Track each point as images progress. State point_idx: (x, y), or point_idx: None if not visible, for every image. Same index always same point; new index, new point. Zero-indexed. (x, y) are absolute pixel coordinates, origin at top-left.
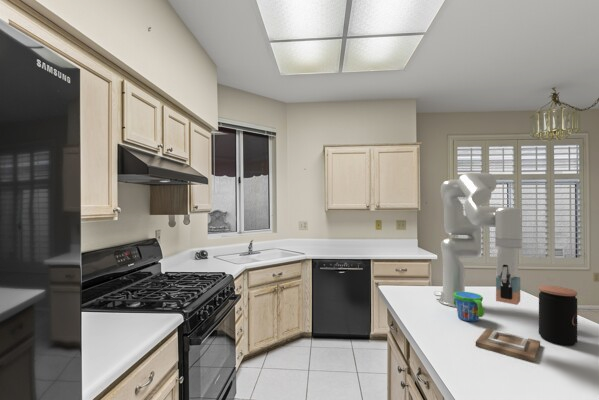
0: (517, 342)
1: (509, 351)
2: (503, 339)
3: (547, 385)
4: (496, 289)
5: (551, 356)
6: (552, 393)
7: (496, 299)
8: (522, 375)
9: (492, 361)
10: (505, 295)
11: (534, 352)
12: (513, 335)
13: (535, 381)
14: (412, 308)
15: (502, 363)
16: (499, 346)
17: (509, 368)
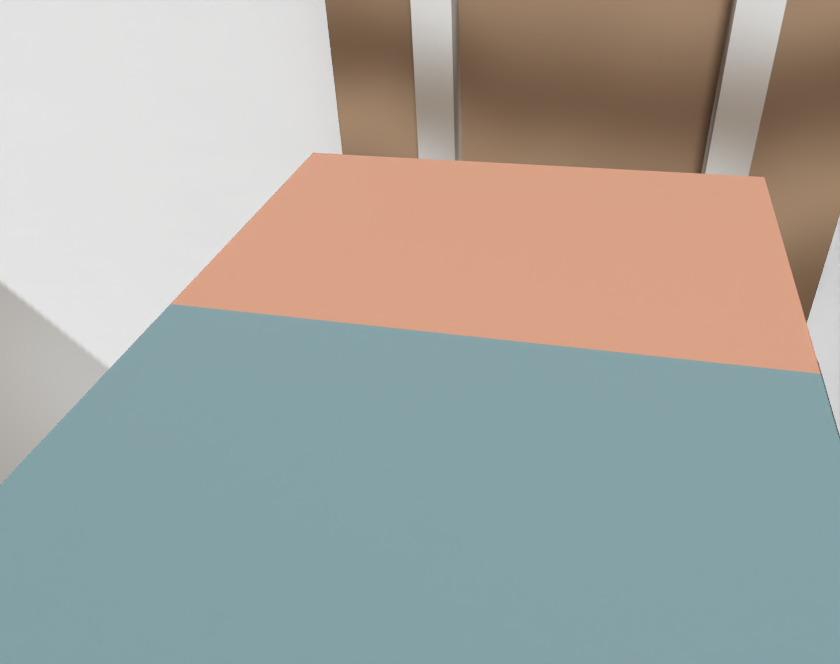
0: (617, 158)
1: (341, 119)
2: (613, 27)
3: (125, 314)
4: (175, 308)
5: None
6: (68, 328)
7: (302, 174)
8: (116, 208)
9: (131, 10)
10: None
11: None
12: (730, 124)
13: (112, 267)
14: None
15: (167, 81)
16: (373, 28)
17: (135, 133)
